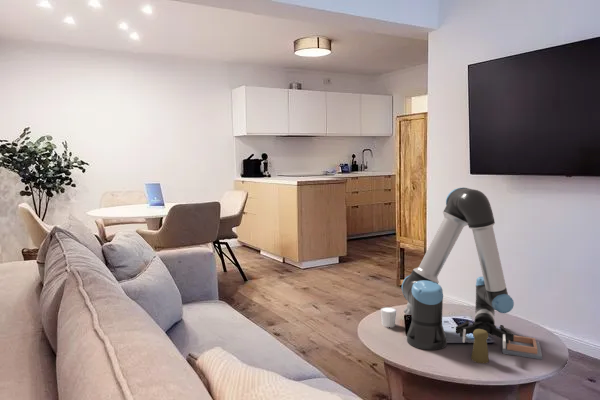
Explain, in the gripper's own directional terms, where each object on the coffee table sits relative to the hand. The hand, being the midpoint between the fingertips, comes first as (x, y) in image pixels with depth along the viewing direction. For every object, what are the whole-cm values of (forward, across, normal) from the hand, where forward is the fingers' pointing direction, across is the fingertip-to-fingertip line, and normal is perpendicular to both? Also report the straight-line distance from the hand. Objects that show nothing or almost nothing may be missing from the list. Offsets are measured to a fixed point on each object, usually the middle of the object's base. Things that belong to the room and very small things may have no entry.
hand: (483, 341), depth 159 cm
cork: (+1, +1, -7) cm, 7 cm away
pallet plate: (-14, -13, -6) cm, 20 cm away
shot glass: (-20, +39, -7) cm, 44 cm away
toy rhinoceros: (-34, +28, -7) cm, 44 cm away
